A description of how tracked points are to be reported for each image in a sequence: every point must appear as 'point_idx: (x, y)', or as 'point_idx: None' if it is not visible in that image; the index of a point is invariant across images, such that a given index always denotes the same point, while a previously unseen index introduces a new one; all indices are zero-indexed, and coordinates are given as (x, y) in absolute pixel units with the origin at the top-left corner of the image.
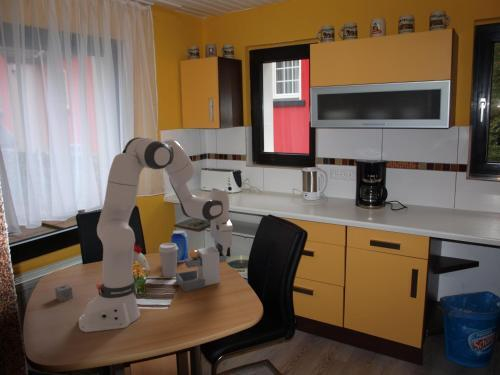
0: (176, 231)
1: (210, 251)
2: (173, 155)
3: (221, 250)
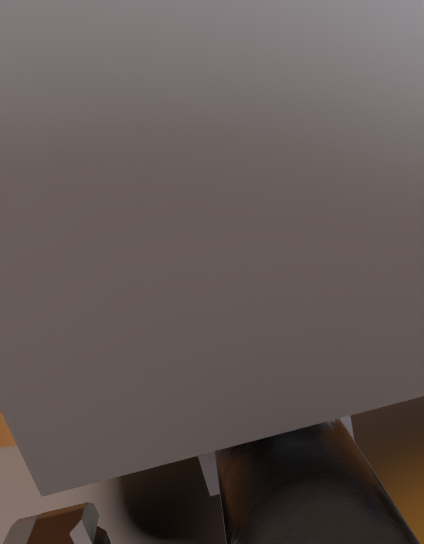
0: None
1: (107, 251)
2: None
3: (225, 522)
